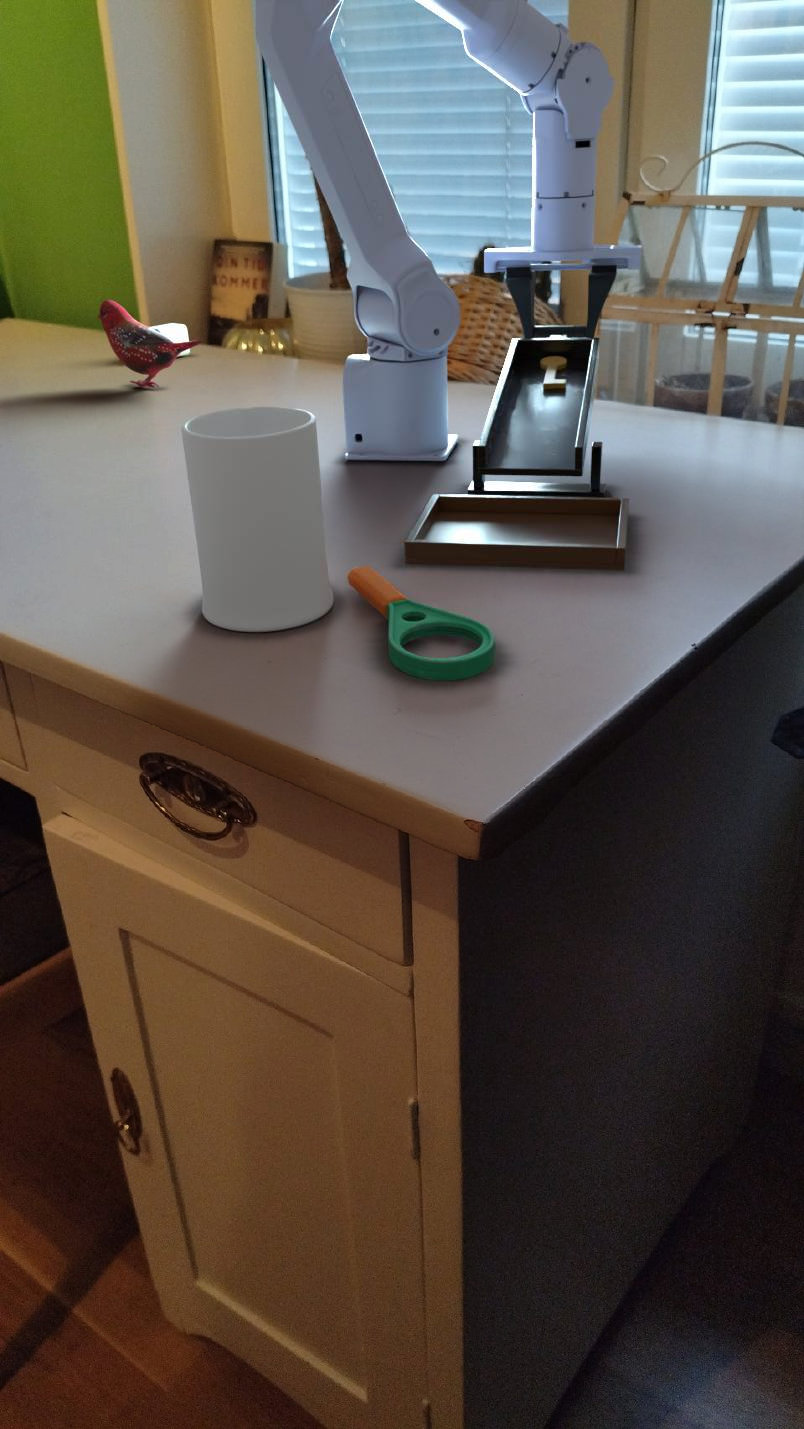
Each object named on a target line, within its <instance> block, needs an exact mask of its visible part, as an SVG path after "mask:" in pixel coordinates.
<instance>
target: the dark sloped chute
mask: <svg viewBox="0 0 804 1429" xmlns="http://www.w3.org/2000/svg"><path fill="white" fill-rule="evenodd" d="M586 326H587V324H585V325H584V324H583V325H581V324H580V325H579V324H578V325H535V326H534V332H533V338H524V337H515V338H514V337H513V338H512V339H511V343H510V346H509V349H508V352H507V355H506V358H505V361H504V365H503V368H502V370H501V374H500V376H499V380H498V383H497V386H496V389H495V392H494V395H493V399H492V402H491V405H490V408H489V411H488V414H487V417H486V418H485V419H486V420H485V423H484V427H483V429H482V432H481V435H480V437H479V440H478V441H479V444H478V467H479V468H478V473H479V475H485V476H519V477H521V476H527V477H528V476H529V477H578V478H579V477H583V475H584V469H585V468H584V467H585V461H586V455H587V448H588V441H589V440H588V439H589V433H590V428H591V427H590V426H591V420H592V412H593V406H594V399H595V391H596V385H597V378H598V371H599V370H598V369H599V364H600V342H601V341H600V340H601V339H600V337H594V338H585V335H586ZM551 356H559V357H563V358H565V359H566V360H567V366H566V367H565V368H564V369H561V370H557V374H556V379H566V388H565V389H543V383H544V379H545V374H546V370H545V369H542V368H541V366H540V361H541V360H542V359H543V358H546V357H551Z"/></svg>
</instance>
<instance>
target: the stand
mask: <svg viewBox="0 0 804 1429" xmlns="http://www.w3.org/2000/svg"><path fill="white" fill-rule="evenodd" d="M479 441H480V440H474V442H473V445H472V481H471V483H470V484H469V486H468V488H467V495H496V496H545V497H594V498H605V495H606V487H607V484H606V483H602V466H603V464H602V463H603V442H602V441H592V444H591V456H590V477H589V478H590V479H589V483H578V482H577V483H572V482H569V483H568V482H521V481H519V482H518V481H516V482H515V481H486V475H479V473H478V468H479V467H478V444H479Z"/></svg>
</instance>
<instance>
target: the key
mask: <svg viewBox="0 0 804 1429" xmlns="http://www.w3.org/2000/svg"><path fill="white" fill-rule="evenodd" d="M540 366H541V368H542V369H545V370H546V374H545V379H544V383H543V389H565V388H566V379H556V374H557V370H561V369H564V368H565V367H566V366H567V360H566V359H565V358H563V357H559V356H551V357H546V358H543V359H542V360H541V361H540Z"/></svg>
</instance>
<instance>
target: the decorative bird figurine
mask: <svg viewBox="0 0 804 1429" xmlns="http://www.w3.org/2000/svg"><path fill="white" fill-rule="evenodd" d="M97 319H98V320H100V322H101V325H102V328H103V331H104V332H105V335H106V337H107V341H108V343H109V345H110V348H111V349H112V351H113V354H114V355H115V356H116V357H117V358H118V361H120V362H121V363H122V364H123V365H124V366H125V367H127V368H128V369H129V370H131V371H132V372H135V373H137V374H139V375H145V376H146V375H147V377H146V378H144V380H141V379H139V380H137V381H135V380H130V381H129V383H132V384H135V385H137V386H138V387H141V388H144V387H149V388H155V386H156V387H158V388H159V387H160V386H159V385H158V384H157V382H155V381H152V380H153V379H154V378H156V377H157V374H159V373H160V372H161V371H162V370H164V369H167V368H169V367H171V366H172V365H173V364H174V362H175V361H176V359H177V358H178V357H179V356H178V355H179V354H180V353H181V352H183V351H185V350H188V349H190V350H191V349H192V348H194V347H197V346H198V345H200V344H202V343H203V341H202V340H200V339H196V340H189V341H187V342H180V343H173V342H172V341H171V340H170V339H168V338H167V337H165V336H164V335H162V334H161V333H159V332H157V331H156V330H154V329H152V328H150V327H151V326H148V325H145V324H143V323H141V322H140V321H138V320H136V319H135V318H134V317H132V315H131V314H129V312H128V311H127V310H126V309H125V307H123V306H122V305H120V304H119V303H118V302H116V301H114V300H111V299H105V300H104V301H102V302H101V305H100V307H99V314H98V315H97ZM177 356H178V357H177Z"/></svg>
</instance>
